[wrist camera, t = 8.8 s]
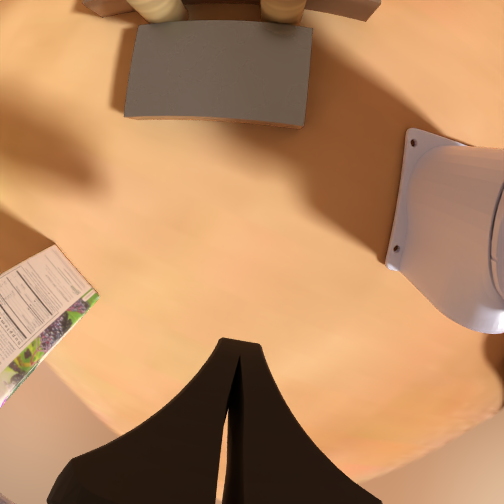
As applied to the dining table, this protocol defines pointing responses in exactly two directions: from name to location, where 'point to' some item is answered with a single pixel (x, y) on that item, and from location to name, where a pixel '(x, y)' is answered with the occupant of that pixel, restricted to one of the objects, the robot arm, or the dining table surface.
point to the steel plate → (220, 72)
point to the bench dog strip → (272, 3)
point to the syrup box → (37, 312)
